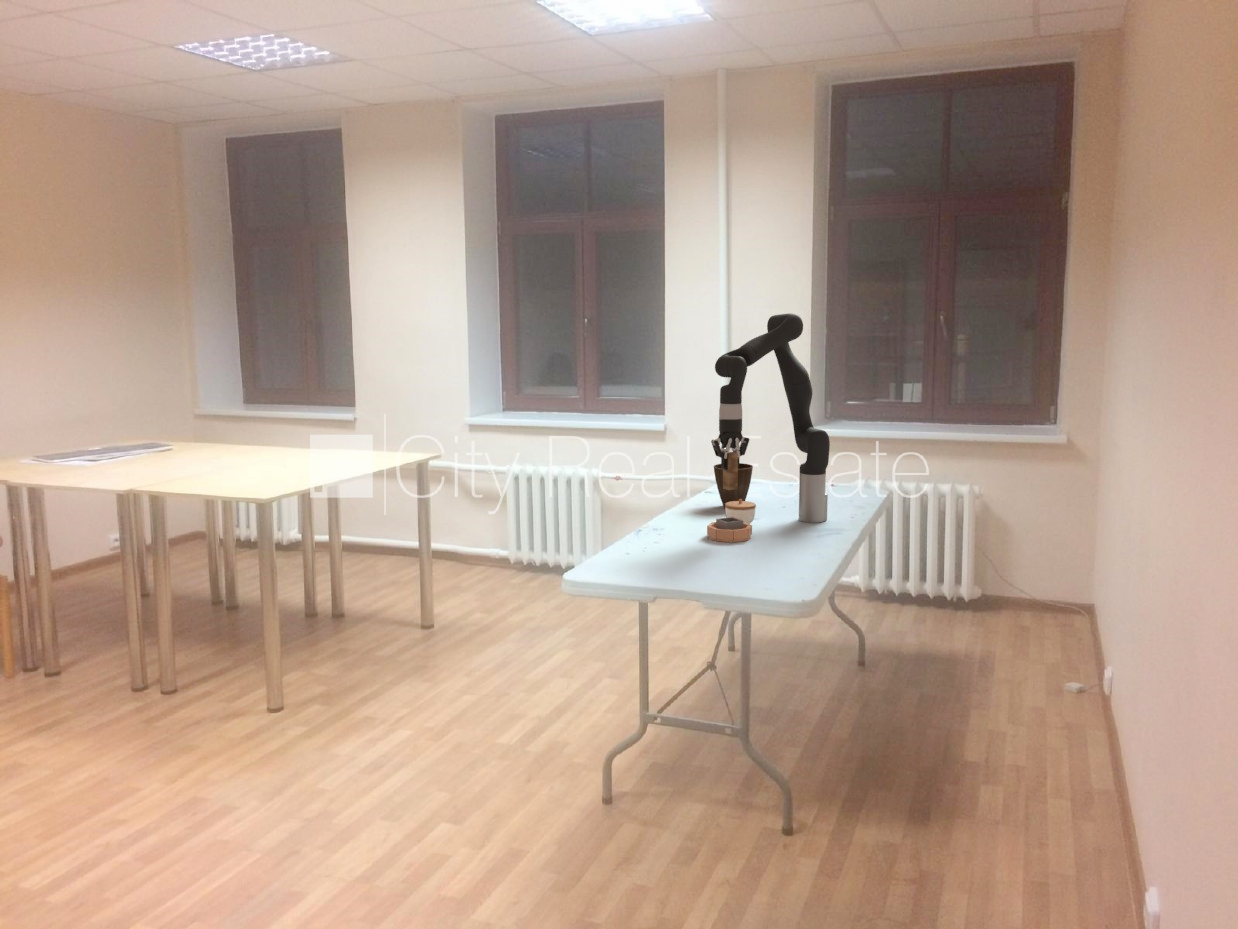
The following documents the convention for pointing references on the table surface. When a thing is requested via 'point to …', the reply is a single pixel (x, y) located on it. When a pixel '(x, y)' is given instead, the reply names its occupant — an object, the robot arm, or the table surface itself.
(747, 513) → the lidded jar
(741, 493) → the plant pot
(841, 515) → the table surface
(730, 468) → the brown long rectangular block
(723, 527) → the candle pot
